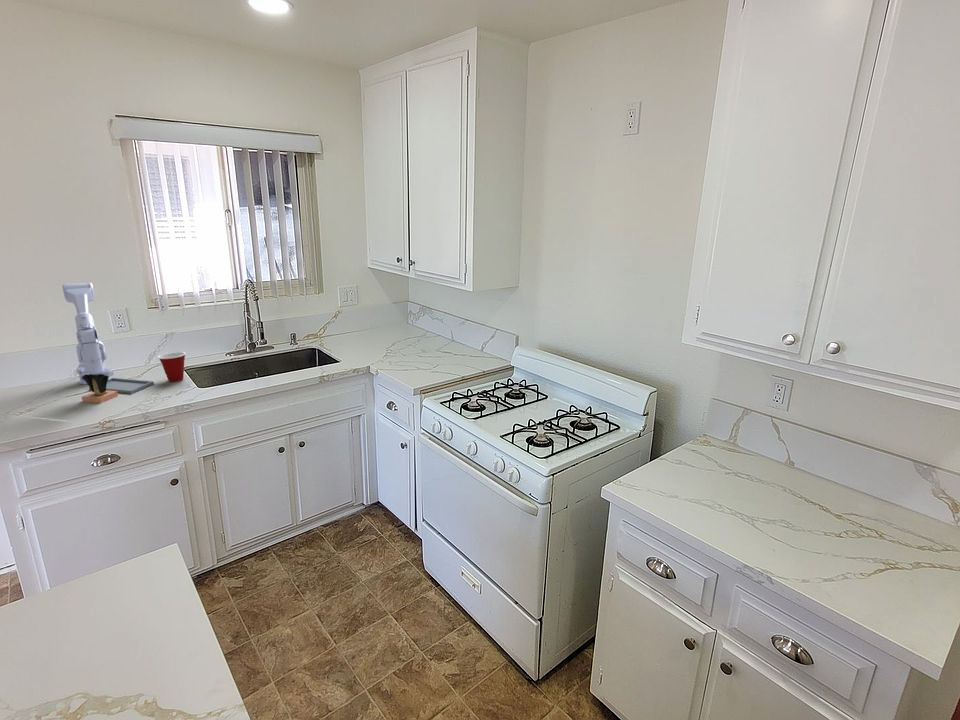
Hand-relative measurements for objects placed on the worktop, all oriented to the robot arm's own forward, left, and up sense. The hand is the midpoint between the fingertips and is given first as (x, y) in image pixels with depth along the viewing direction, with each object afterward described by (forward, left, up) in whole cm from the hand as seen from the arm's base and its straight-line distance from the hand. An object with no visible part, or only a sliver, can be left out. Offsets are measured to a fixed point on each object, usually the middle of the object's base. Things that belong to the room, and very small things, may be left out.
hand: (99, 391), depth 208 cm
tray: (-2, +13, -3) cm, 14 cm away
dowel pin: (0, 0, -3) cm, 3 cm away
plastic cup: (+12, +27, -4) cm, 30 cm away
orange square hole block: (0, 0, -3) cm, 3 cm away
